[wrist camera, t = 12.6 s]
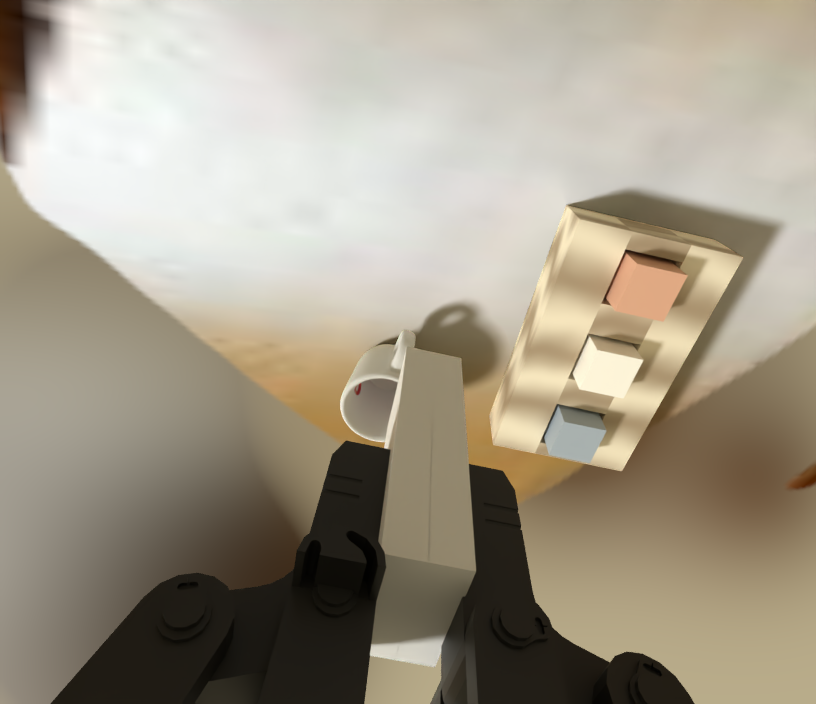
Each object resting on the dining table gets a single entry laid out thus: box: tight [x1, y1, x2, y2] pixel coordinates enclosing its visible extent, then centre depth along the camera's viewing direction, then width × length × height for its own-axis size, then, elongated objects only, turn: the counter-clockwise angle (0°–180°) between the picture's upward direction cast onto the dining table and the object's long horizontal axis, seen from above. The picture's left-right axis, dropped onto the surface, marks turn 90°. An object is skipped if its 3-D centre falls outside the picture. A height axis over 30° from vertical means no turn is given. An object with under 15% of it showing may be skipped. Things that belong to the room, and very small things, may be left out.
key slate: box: [543, 404, 607, 463], centre depth 50 cm, size 4×4×5 cm
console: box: [489, 205, 744, 471], centre depth 48 cm, size 24×14×5 cm, turn 168°
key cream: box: [572, 333, 643, 399], centre depth 46 cm, size 4×4×5 cm
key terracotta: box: [605, 249, 688, 322], centre depth 42 cm, size 4×4×5 cm
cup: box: [340, 330, 415, 442], centre depth 50 cm, size 11×8×8 cm
